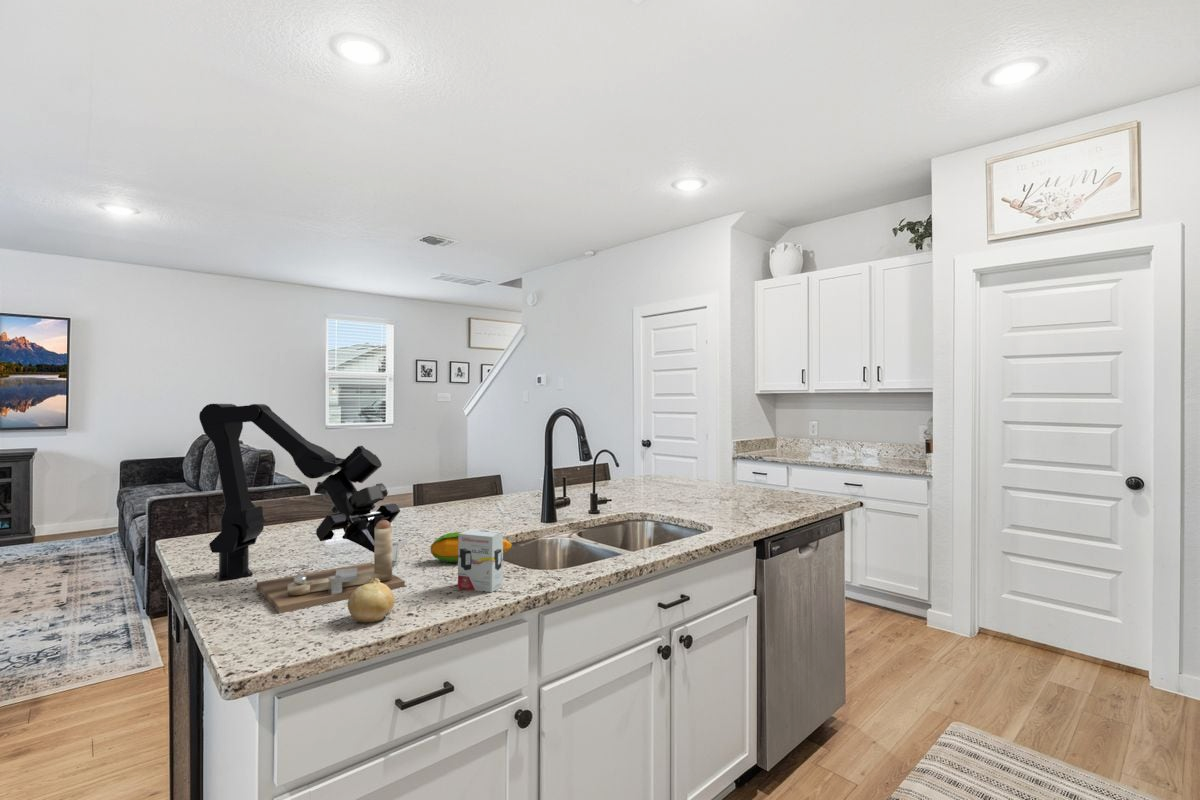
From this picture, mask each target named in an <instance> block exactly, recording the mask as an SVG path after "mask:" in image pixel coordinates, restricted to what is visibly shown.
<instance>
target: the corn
mask: <svg viewBox="0 0 1200 800" xmlns="http://www.w3.org/2000/svg"><path fill="white" fill-rule="evenodd" d="M462 532H463V531H459V532H458V531H456V532H447V533H446V534H442V535H440V536H439V537H438V538H436V539H435V540H434V542H432V544H431V545H430V548H429V549H430V553H431V555H432V556H433V558H435V559H437V560H439V561H441V562H444V561H445V562H446V563H450V562H453V563H458V534H459V533H462ZM512 546H513V543H512V542H509V541H508V540H506V539H504V538H503V553H506V552H508V551H509V550H510V549H512Z"/></svg>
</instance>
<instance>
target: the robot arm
mask: <svg viewBox="0 0 1200 800" xmlns="http://www.w3.org/2000/svg"><path fill="white" fill-rule="evenodd" d="M198 415H199V416H198V417H199V418H198V419H199V421H200V424H201V428H202V429H203V432H204V434H205V435H206V437H208V439H209V440H210V441H211V443H212V445H213V447H214V451H215V457H216V464H217V467H218V473H219V478H220V484H221V490H222V495H223V499H224V509H223V513H222V516H221V518H220V532H219V534H217V535H216V537H214V539H212V540H211V541H210V542H209V544H208V545H209V548H210V551H211V553H214V554H215V553H216V554H218V571H216V572H215V573H214V575H215V576H216V578H217V579H218V581H225V580H230V579H232V580H233V579H236V578H241V577H243V578H244V577H247V576H253V575H254V572H253V571H252V570H251V569H250V568H249V563H250V562H249V555H250V553H249V552H250V550H249V548H250V547H249V546H252V545H254V544H256V541H257V539H258V536H260V535H261V533H262V532H263V531H264V524H265V523H266V522H267V521H266V519H265V518H264V514H263V513H264V512H263V510H264V509H263V506H262V505H258V506H255V504H254V503H253V502H252V501H251V498H250V494H249V488H248V483H247V477H246V472H245V471H246V470H245V466H244V461H243V457H242V452H241V446H240V437H241V434H242V431H243V429H244V425H243V424H244V423H247V422H248V423H250V422H251V423H252V424H254V425H255V426H257V428H259V429H260V430H261V431H263V433H265V434H266V435H267V436H268V437H269V438H271V439H272V440H273V441H274V442H275V443H277V445H279V446H280V447H281V448H282V449H283V450H284V451H286V452H287V453H289V455H290V457H291V458H292V459H293V463H294V465H295V466H296V467H297V468H298V469H299V471H300V472H301V473H302V475H304V476H305V477H306V478H308V479H310V480H311V479H313V480H314V479H320V478H323V477H326V478H325V479H323V481H317V483H316V487H315V489H314V494H316V495H327V496H328V498H329V500H330V501H331V503H332V505H333V508H332V509H331V511H332V513H333V514H327V515H326V516H325V517H324V518H323V520H322V521H321V522H320V524H319V525H318V526H317V528H316V529H315V530H316V531H315V534H316V536H317V538H318V540H319V541H320V542H324V541H329V540H332V539H333V537H334V535H335V533H334V531H336V530H337V531H338V530H343V532H344V534H343V535H342V536H341V538H342V539H343V540H348V541H350V542H353V543H355V544H357V545H359V546H362V548H365V549H366V550H368V551H370V552H372V553H374V530H375V527H376V524H377V523H378V522H379V521H381V520H387V521H389V522H390V524H391V525H392V522H393V521H394V520H395V518H397V516H398V515H399V514H400V512H401V509H400V507H399V506H398V505H397V503H393V502H392V503H388V504H381V505H380V506H379V508H378V509H377V510H376V511H375V512H371V511H373V510H374V509H375V507H376V505H375V504H377V503H379V502H381V501H383V500H385V497H387V496H388V493H389V492H388V488H387V487H386V486H385V485H384V483H383V482H381V483H380V482H379V483H376V484H375V485H372V486H367V487H364V488H362V489H359V490H357V488H356V487H355V484H356V483H359V484H363V483H364V482H365V481H367V480H368V479H369V478H370V477H371V476H372V475H374V473H376V472H377V471H378V470H379V469H380V468H381V467H382V466H383V465H382V462H381V460H380V459H379V457H378V456H377V455H376V453H375V454H374V453H373V452H372V451H370V450H369V449H367V448H365V447H364V446H363V445H357V446H356V448H354V449H353V450H352V452H351V453H350V454H349V455H347V457H345V458H342V457H336V455H335V454H334V453H333V452H331V451H329V450H327V449H326V448H324V447H322V446H320V445H317V444H315V443H312V442H310V441H308V440H307V439H306V438H305V437H303V436H302V435H301V434H300V433H299V432H298V431H296V430H295V429H294V428H293V427H292V426H290V424H288V423H287V422H286V421H284V419H283V418H281V417H280V416H278V414H276V413H275V412H274V411H273V410H272V409H271V407H270V406H268V405H267V404H264V403H254V404H253V403H252V404H251V403H250V404H249V405H248V404H247V405H239V406H238V405H236V404H234V403H209V404H207V405H205V406H204V407H203V408H202V409H201V411H200V412H199V414H198ZM335 471H337V472H335ZM334 472H335V473H334ZM333 473H334V474H333ZM353 483H354V484H353Z"/></svg>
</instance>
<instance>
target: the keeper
mask: <svg viewBox="0 0 1200 800" xmlns="http://www.w3.org/2000/svg"><path fill="white" fill-rule="evenodd" d="M351 581H357V568H349V569H339V570H337V571H336V575H335V576H331V577H329V594H331V595H335V594H340V593H342V582H351ZM305 582H306V576H297V577H294V584H302V583H305Z"/></svg>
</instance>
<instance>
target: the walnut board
mask: <svg viewBox="0 0 1200 800" xmlns="http://www.w3.org/2000/svg"><path fill="white" fill-rule="evenodd" d="M349 568H357V574H358V573H365V572H372V571H374V563H373V562H372V561H371V562H363V563H359V564H354V565H346V566H341V567H336V568H330V569H325V570H319V571H313V572H309V573H308V572H307V573H302V574H301V573H300V574H296V575H291V576H285V577H280V578H279V577H278V578H273V579H269V580H263V581H257V582H256V589H257V590H258V591H259V593H261V595H263V597H264V598H265V599H266V600H267V601H268V603H270V604H271V606H272V607H273V608H274V609H275V610H276V611H277V612H278V614H282V613H287V612H292V611H296V610H300V609H306V608H311V607H315V606H320V604H321V605H324V604H330V603H334V602H338V601H339V602H340V601H343V600H349V597H350V595H351V594H352V593H353V591H354V590H356V589H357V588H358V587H360V586H362V585H364V584H359V585H353V586H347V587H342V593H340V594H335V595H331V594H329V589H328V590H322V591H315V592H310V593H307V594H303V595H288V585H289V584H291V583H294V577H297V576H306V581H312V580H318V579H325V578H329V577H331V576H335V575H336V571H337V570H339V569H349ZM380 583H383V584H385V585H387V586H388V587H389V588H390V590H391V591H392V590H394V589H400V587H401V588H405V585H406V581H405V580H404V579H402V578H400V577H399V576H396V575H395V574H393V573H392V579H390V580H387V581H380ZM365 584H368V583H365Z"/></svg>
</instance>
